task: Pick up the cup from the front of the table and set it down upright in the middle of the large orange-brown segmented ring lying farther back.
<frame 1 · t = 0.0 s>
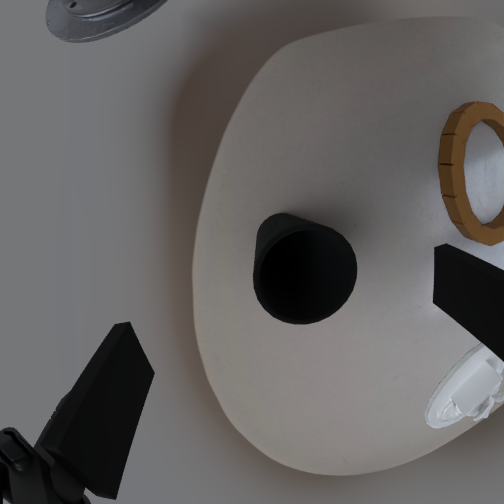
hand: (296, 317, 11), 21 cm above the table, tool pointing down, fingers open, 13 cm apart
orange-brown segmented ring: (484, 172, 30), on the table
cup: (281, 237, 31), on the table
dish: (468, 384, 43), on the table
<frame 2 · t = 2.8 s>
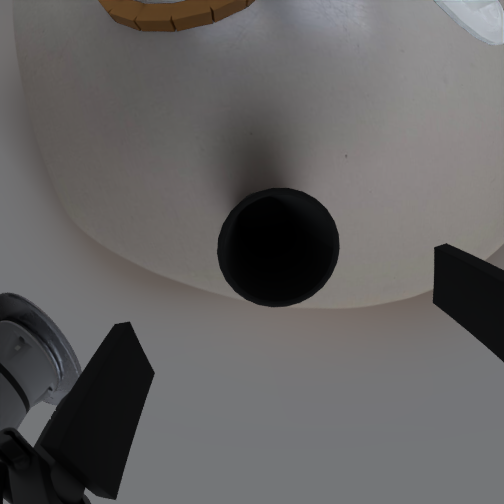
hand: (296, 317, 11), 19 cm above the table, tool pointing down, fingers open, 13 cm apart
cup: (262, 218, 29), on the table
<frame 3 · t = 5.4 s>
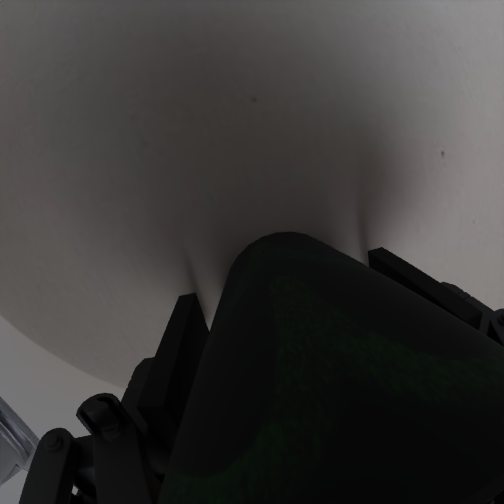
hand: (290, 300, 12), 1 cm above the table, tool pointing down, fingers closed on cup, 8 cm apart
cup: (284, 288, 13), on the table, touching gripper
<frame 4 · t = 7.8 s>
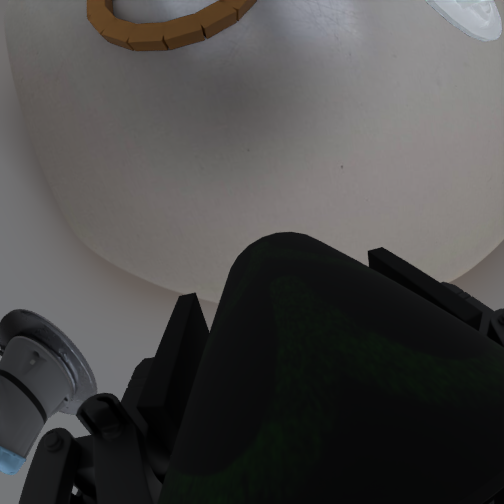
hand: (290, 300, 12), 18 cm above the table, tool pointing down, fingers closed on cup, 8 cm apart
cup: (284, 288, 13), point 17 cm above the table, touching gripper
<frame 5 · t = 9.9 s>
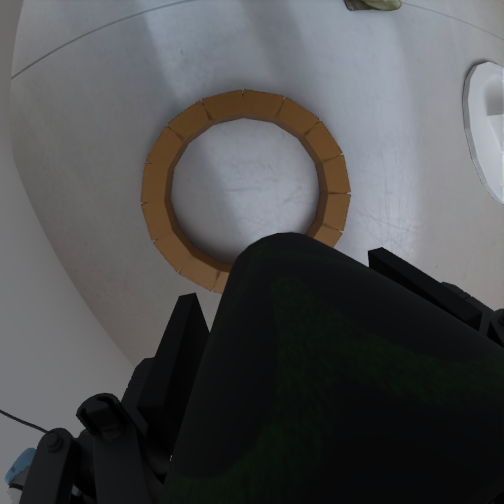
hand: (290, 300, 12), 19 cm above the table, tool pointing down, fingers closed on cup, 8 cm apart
orange-brown segmented ring: (245, 193, 30), on the table
cup: (285, 288, 13), point 18 cm above the table, touching gripper
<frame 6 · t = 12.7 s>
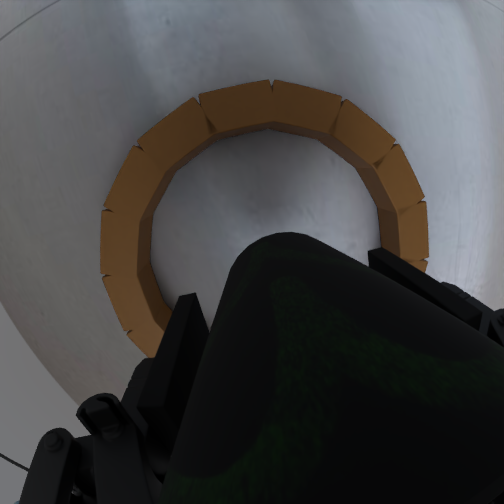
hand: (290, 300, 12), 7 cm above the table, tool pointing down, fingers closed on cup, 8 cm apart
orange-brown segmented ring: (270, 255, 19), on the table
cup: (285, 288, 13), point 6 cm above the table, touching gripper
when the fingers open (1 cm above the table, at t = 14.5 s): cup stays where it is, resting in orange-brown segmented ring.
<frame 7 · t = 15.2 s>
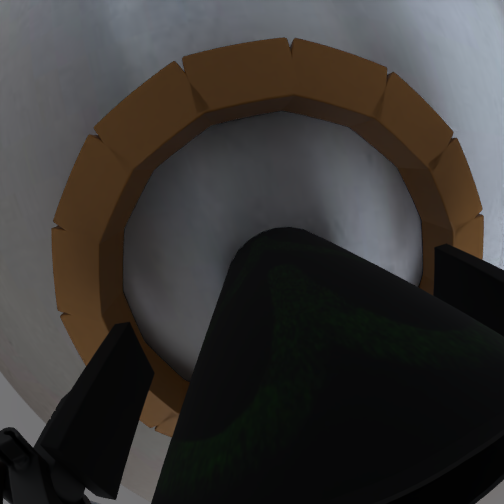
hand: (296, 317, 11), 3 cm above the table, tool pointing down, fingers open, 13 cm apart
orange-brown segmented ring: (284, 285, 14), on the table
cup: (284, 282, 14), resting in orange-brown segmented ring
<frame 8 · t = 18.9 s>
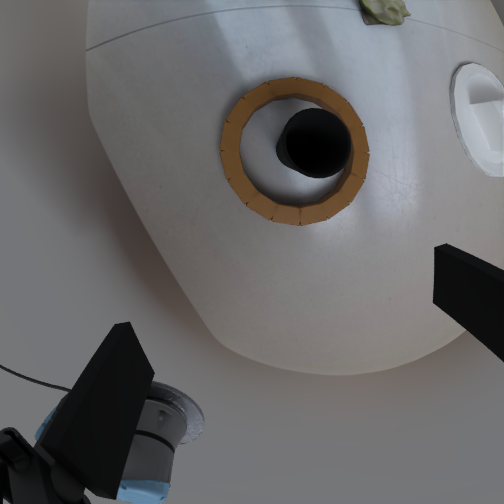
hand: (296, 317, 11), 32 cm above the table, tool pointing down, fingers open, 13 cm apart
fruit: (375, 10, 32), on the table
orange-brown segmented ring: (295, 150, 39), on the table
cup: (294, 150, 39), resting in orange-brown segmented ring
dish: (487, 119, 38), on the table
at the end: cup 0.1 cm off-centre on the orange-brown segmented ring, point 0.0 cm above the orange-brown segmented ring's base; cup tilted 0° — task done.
